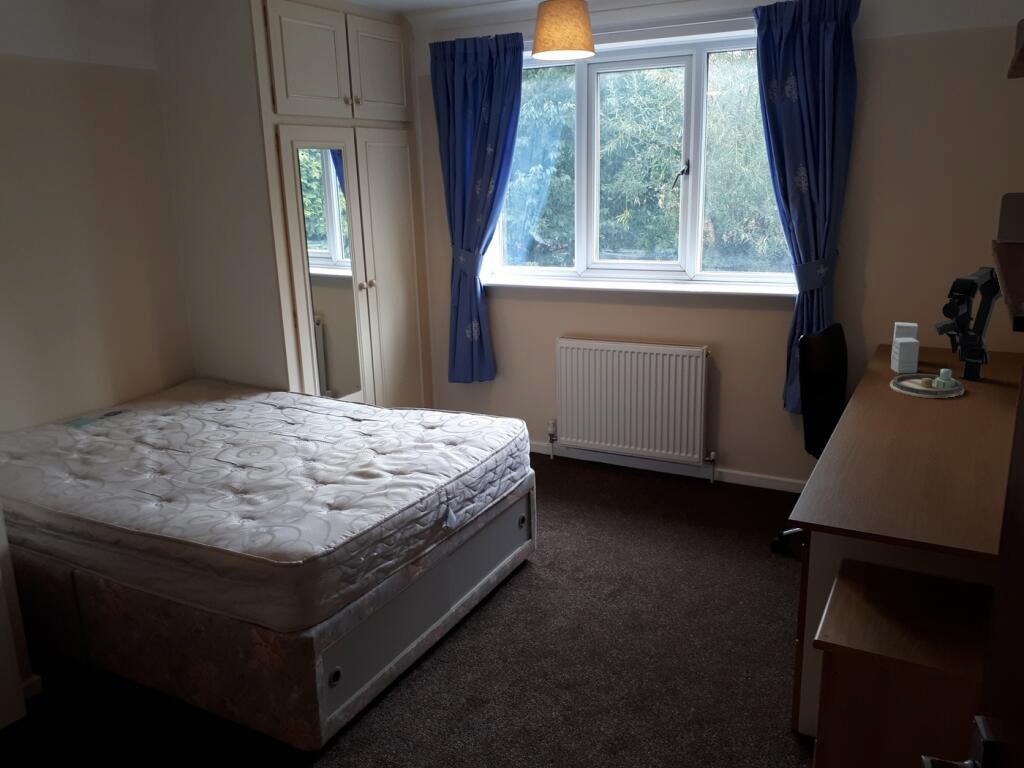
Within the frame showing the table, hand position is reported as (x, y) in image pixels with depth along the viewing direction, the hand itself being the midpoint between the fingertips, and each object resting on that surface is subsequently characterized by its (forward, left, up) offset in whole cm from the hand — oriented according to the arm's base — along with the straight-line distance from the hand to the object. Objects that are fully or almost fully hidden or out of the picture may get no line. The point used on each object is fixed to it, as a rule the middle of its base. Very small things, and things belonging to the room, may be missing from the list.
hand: (958, 356), depth 285 cm
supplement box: (-7, -23, -12) cm, 27 cm away
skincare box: (-20, -31, -12) cm, 39 cm away
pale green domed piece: (+5, -1, -11) cm, 12 cm away
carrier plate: (+9, -5, -12) cm, 16 cm away
